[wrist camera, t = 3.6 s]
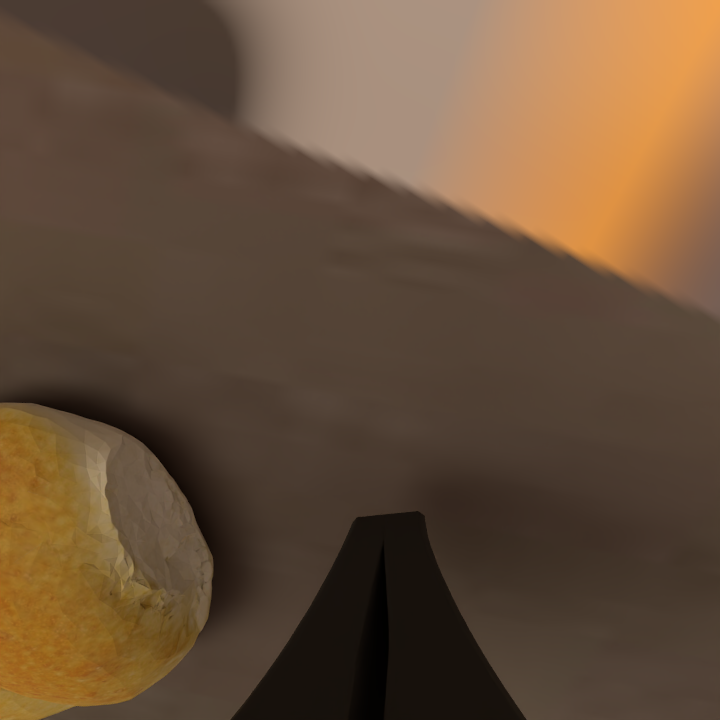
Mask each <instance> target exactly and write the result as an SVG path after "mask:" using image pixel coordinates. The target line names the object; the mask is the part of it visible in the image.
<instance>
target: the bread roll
mask: <svg viewBox="0 0 720 720" xmlns="http://www.w3.org/2000/svg"><path fill="white" fill-rule="evenodd" d="M213 566H214V565H213V556H212V554H211V552H210V550H209V548H208V546H207V544H206V541H205V539H204V537H203V535H202V533H201V531H200V529H199V527H198V525H197V523H196V520H195V517H194V514H193V511H192V508H191V506H190V504H189V502H188V500H187V499H186V497H185V495H184V494H183V493H182V492H181V490H180V489H179V487H178V485H177V484H176V482H175V481H174V479H173V478H172V477H171V476H170V475H169V473H168V472H167V471H166V469H165V468H164V466H163V465H162V464H161V463H160V461H159V460H158V459H157V458H156V456H155V455H154V454H153V453H152V452H151V451H150V450H149V449H148V448H147V447H146V446H145V445H144V444H143V443H142V442H140V441H139V440H137V439H136V438H134V437H133V436H131V435H129V434H127V433H126V432H124V431H122V430H120V429H117V428H115V427H113V426H110V425H107V424H105V423H102V422H99V421H95V420H91V419H87V418H84V417H81V416H78V415H75V414H72V413H68V412H64V411H60V410H56V409H53V408H49V407H45V406H41V405H38V404H34V403H0V720H38V719H41V718H45V717H47V716H50V715H53V714H56V713H58V712H61V711H64V710H66V709H69V708H71V707H74V706H95V705H107V704H116V703H120V702H124V701H128V700H131V699H132V698H134V697H135V696H137V695H138V694H140V693H141V692H143V691H145V690H146V689H148V688H149V687H150V686H152V685H153V684H154V683H156V682H157V681H159V680H160V679H162V678H163V677H164V676H166V675H167V674H168V673H169V672H170V671H171V670H172V669H173V668H174V667H175V666H176V665H177V664H178V663H179V662H180V661H181V660H182V659H183V658H184V657H185V655H186V654H187V653H188V652H189V651H190V649H191V648H192V647H193V646H194V644H195V641H196V639H197V636H198V634H199V632H201V631H202V629H203V627H204V625H205V623H206V621H207V619H208V616H209V608H210V602H211V593H212V578H213V570H214V569H213Z"/></svg>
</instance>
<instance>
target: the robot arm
mask: <svg viewBox="0 0 720 720" xmlns="http://www.w3.org/2000/svg"><path fill="white" fill-rule="evenodd" d="M231 720H526V718H525V717H524V715H523V714H522V712H521V711H520V710H519V708H518V707H517V705H516V704H515V702H514V701H513V699H512V698H511V696H510V695H509V693H508V692H507V690H506V689H505V687H504V686H503V684H502V683H501V681H500V680H499V678H498V676H497V675H496V673H495V672H494V670H493V669H492V667H491V666H490V664H489V662H488V661H487V659H486V657H485V656H484V654H483V652H482V651H481V649H480V647H479V646H478V644H477V642H476V640H475V639H474V637H473V635H472V633H471V632H470V630H469V628H468V626H467V624H466V622H465V621H464V619H463V617H462V615H461V613H460V611H459V609H458V607H457V605H456V603H455V602H454V600H453V597H452V595H451V593H450V591H449V589H448V587H447V585H446V582H445V580H444V578H443V576H442V574H441V571H440V569H439V567H438V564H437V562H436V559H435V556H434V554H433V551H432V548H431V545H430V542H429V539H428V535H427V528H426V522H425V516H424V515H423V514H421V513H420V512H418V511H416V512H406V513H396V514H386V515H376V516H366V517H357V518H356V520H355V521H354V522H353V523H352V526H351V528H350V530H349V533H348V535H347V537H346V539H345V541H344V544H343V546H342V548H341V550H340V552H339V554H338V556H337V558H336V560H335V562H334V564H333V566H332V568H331V570H330V572H329V573H328V575H327V577H326V579H325V581H324V582H323V584H322V586H321V588H320V590H319V592H318V593H317V595H316V597H315V599H314V601H313V602H312V604H311V606H310V607H309V609H308V611H307V612H306V614H305V616H304V617H303V619H302V620H301V622H300V623H299V625H298V627H297V628H296V630H295V631H294V633H293V635H292V636H291V638H290V639H289V641H288V643H287V644H286V646H285V647H284V649H283V650H282V652H281V653H280V655H279V656H278V657H277V659H276V660H275V662H274V663H273V665H272V666H271V668H270V669H269V670H268V672H267V673H266V675H265V676H264V677H263V679H262V680H261V681H260V683H259V684H258V685H257V687H256V688H255V689H254V691H253V692H252V693H251V695H250V696H249V697H248V699H247V700H246V701H245V703H244V704H243V705H242V706H241V707H240V709H239V710H238V711H237V712H236V714H235V715H234V716H233V717H232V719H231Z"/></svg>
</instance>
